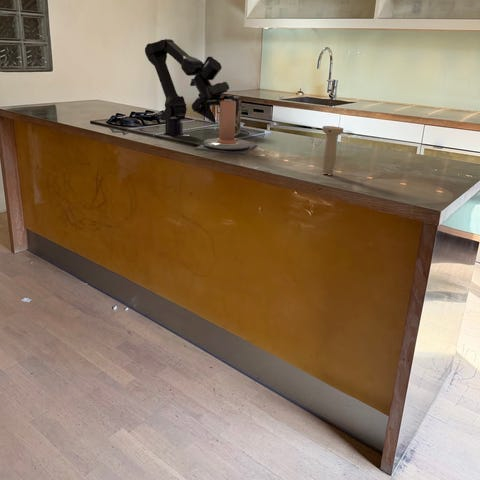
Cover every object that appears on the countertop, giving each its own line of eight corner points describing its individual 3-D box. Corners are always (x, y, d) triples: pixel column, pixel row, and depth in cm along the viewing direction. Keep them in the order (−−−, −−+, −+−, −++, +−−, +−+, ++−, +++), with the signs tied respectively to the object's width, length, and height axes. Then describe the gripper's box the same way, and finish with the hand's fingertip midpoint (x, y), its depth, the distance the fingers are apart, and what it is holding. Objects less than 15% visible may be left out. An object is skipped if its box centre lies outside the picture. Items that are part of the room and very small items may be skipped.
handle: (321, 171, 159) (326, 125, 153) (339, 175, 156) (345, 128, 150) (315, 174, 155) (320, 127, 149) (333, 177, 152) (339, 129, 146)
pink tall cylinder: (213, 142, 185) (214, 99, 179) (221, 139, 192) (223, 98, 186) (231, 145, 183) (233, 101, 177) (239, 141, 189) (241, 99, 183)
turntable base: (195, 149, 182) (195, 147, 181) (211, 140, 199) (211, 139, 198) (243, 154, 177) (243, 153, 177) (256, 145, 194) (256, 144, 194)
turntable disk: (197, 146, 182) (197, 144, 181) (212, 138, 198) (212, 136, 197) (242, 151, 177) (242, 149, 177) (255, 143, 193) (255, 140, 193)
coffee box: (236, 136, 211) (238, 98, 205) (222, 135, 212) (223, 97, 206) (240, 133, 219) (242, 96, 213) (226, 131, 220) (228, 95, 214)
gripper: (197, 74, 176) (217, 109, 173) (233, 73, 189) (251, 106, 186) (183, 94, 184) (201, 128, 181) (218, 92, 197) (236, 124, 194)
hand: (223, 121), depth 185 cm, fingers open, 9 cm apart
